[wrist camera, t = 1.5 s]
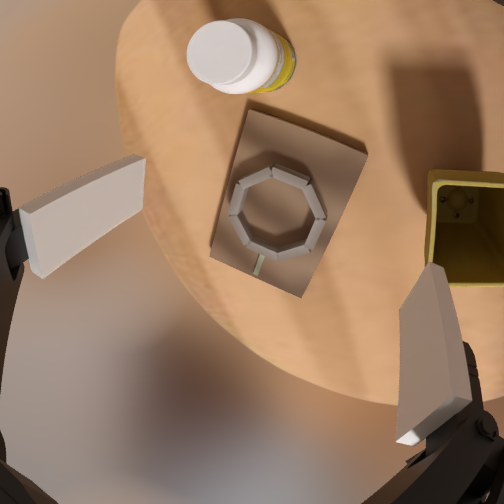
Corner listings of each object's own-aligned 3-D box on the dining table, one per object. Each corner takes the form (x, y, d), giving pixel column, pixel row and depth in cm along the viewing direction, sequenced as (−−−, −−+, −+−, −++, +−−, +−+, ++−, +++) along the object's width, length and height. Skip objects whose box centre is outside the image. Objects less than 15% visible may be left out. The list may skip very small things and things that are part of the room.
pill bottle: (225, 72, 28) (162, 70, 19) (256, 23, 24) (203, -4, 15) (276, 104, 28) (231, 112, 19) (311, 54, 25) (281, 34, 15)
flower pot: (413, 238, 30) (424, 288, 22) (413, 154, 26) (432, 179, 18) (487, 239, 26) (515, 287, 19) (494, 158, 23) (534, 185, 15)
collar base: (252, 108, 29) (243, 110, 27) (368, 153, 27) (368, 158, 25) (212, 252, 39) (204, 262, 37) (302, 293, 37) (298, 305, 36)
